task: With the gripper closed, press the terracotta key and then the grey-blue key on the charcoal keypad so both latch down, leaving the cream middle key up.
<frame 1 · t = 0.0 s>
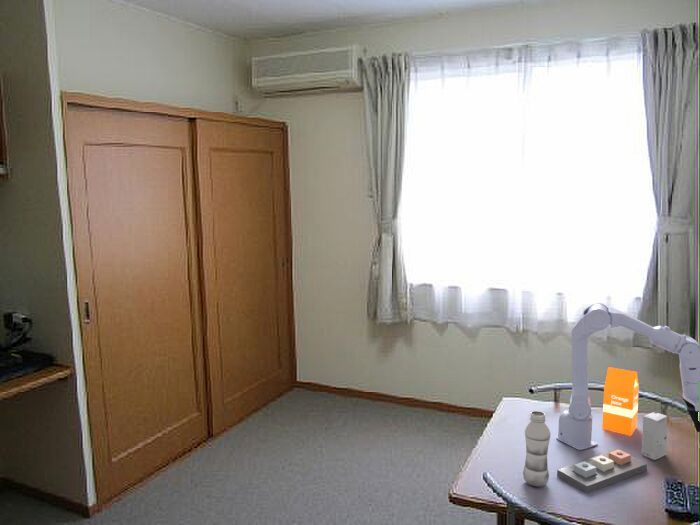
hand: (698, 426, 166), 11 cm above the table, tool pointing down, fingers open, 7 cm apart
grey blue key: (584, 469, 158), point 3 cm above the table, slide at 0.0 cm
keypad: (602, 473, 161), on the table
skincare box: (653, 455, 171), on the table
cream key: (602, 462, 161), point 3 cm above the table, slide at 0.0 cm
orange juice: (619, 428, 189), on the table
terracotta key: (619, 456, 164), point 3 cm above the table, slide at 0.0 cm
plastic bottle: (535, 484, 157), on the table
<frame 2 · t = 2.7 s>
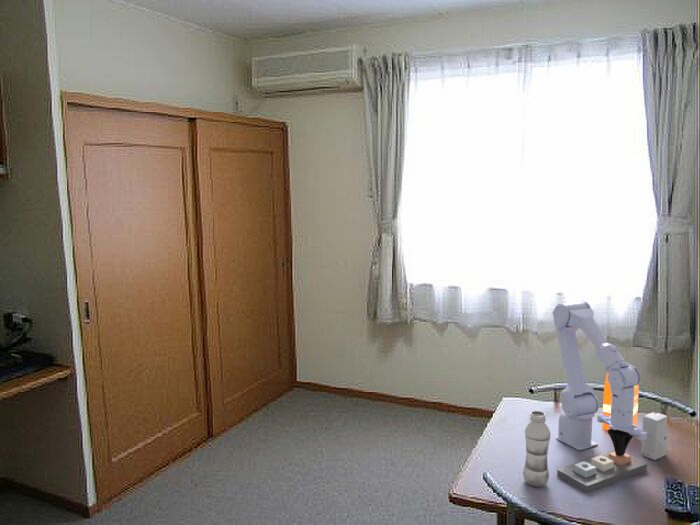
hand: (619, 454, 164), 4 cm above the table, tool pointing down, fingers closed, pressing on terracotta key
terracotta key: (619, 457, 164), point 3 cm above the table, slide at 0.3 cm, touching gripper
everything else where it was.
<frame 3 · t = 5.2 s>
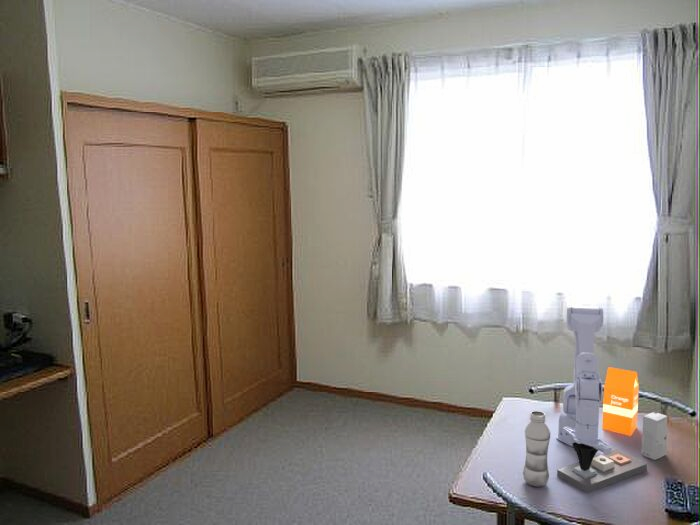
hand: (584, 468, 158), 3 cm above the table, tool pointing down, fingers closed, pressing on grey blue key
grey blue key: (584, 472, 158), point 2 cm above the table, slide at 0.9 cm, touching gripper
terracotta key: (619, 461, 164), point 2 cm above the table, slide at 1.4 cm
everything else where it was.
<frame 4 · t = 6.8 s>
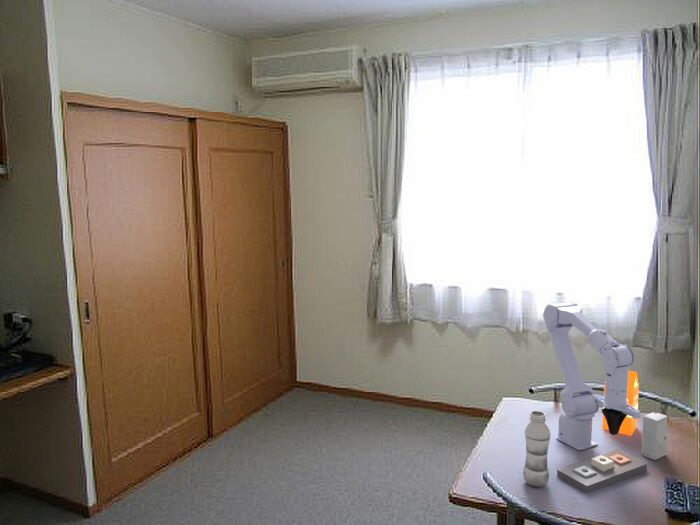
hand: (613, 433, 165), 9 cm above the table, tool pointing down, fingers closed
grey blue key: (584, 473, 158), point 2 cm above the table, slide at 1.4 cm
everything else where it was.
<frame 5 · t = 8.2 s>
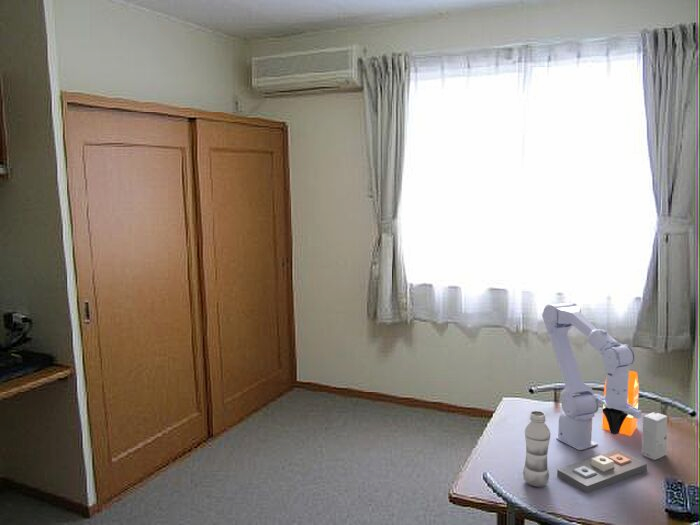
hand: (614, 433, 165), 9 cm above the table, tool pointing down, fingers closed
nothing on the table moved.
at the end: terracotta key slide at 1.4 cm; grey blue key slide at 1.4 cm; cream key slide at 0.0 cm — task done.
